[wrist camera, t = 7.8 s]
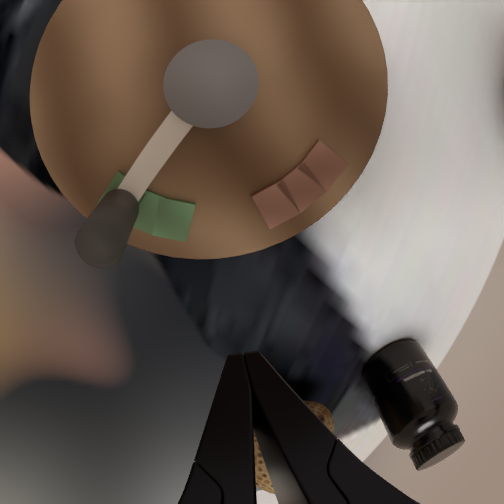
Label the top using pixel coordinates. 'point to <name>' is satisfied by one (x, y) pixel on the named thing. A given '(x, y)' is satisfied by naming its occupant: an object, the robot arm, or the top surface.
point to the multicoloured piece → (172, 136)
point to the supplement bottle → (413, 403)
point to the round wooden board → (211, 139)
